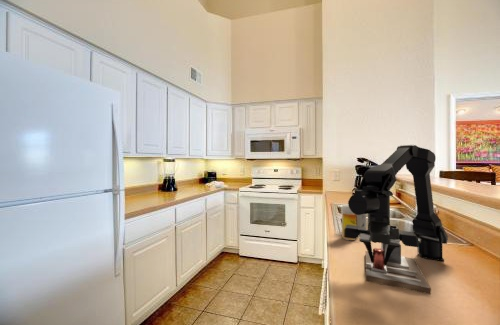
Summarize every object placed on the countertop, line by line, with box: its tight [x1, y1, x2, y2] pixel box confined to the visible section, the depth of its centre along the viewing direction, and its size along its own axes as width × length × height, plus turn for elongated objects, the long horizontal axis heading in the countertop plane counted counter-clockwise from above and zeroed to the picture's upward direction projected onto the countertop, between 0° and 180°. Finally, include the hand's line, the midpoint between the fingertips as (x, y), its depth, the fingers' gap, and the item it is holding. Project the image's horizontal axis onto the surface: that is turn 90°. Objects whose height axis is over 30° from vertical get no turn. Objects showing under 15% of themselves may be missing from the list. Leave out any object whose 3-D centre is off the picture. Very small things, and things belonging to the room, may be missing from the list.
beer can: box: [341, 204, 356, 241], centre depth 103 cm, size 6×6×15 cm
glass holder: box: [356, 214, 367, 230], centre depth 112 cm, size 9×14×15 cm, turn 172°
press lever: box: [371, 247, 387, 274], centre depth 67 cm, size 4×4×7 cm
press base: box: [364, 250, 432, 295], centre depth 72 cm, size 15×21×3 cm
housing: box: [380, 241, 402, 264], centre depth 76 cm, size 5×7×7 cm
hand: (378, 263), depth 67 cm, fingers closed on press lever, 3 cm apart
